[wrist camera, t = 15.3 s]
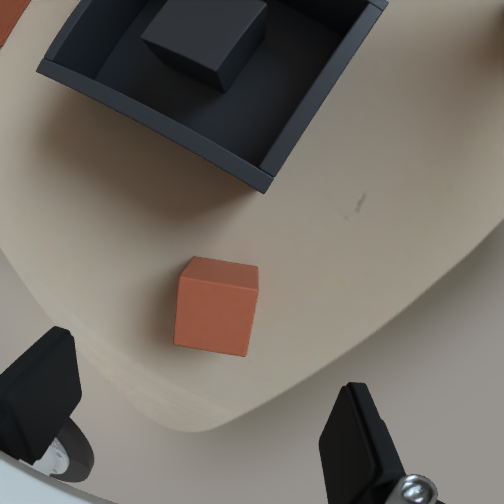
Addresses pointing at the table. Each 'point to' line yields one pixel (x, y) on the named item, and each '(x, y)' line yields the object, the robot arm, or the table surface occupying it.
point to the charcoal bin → (205, 97)
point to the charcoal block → (207, 37)
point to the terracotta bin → (10, 16)
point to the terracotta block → (216, 306)
